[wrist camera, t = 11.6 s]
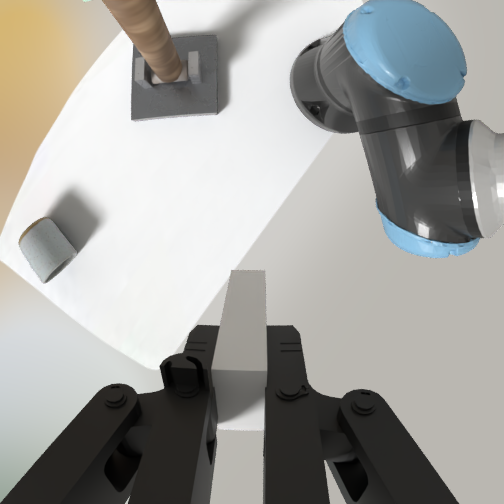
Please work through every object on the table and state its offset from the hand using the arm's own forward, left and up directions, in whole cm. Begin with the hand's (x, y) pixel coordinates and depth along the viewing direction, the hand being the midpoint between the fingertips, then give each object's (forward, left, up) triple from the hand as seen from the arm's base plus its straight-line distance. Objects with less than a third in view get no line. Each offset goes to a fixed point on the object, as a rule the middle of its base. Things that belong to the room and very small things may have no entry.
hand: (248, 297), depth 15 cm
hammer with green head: (+8, -18, -30) cm, 36 cm away
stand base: (+8, -19, -33) cm, 39 cm away
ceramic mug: (+31, +6, -33) cm, 46 cm away
